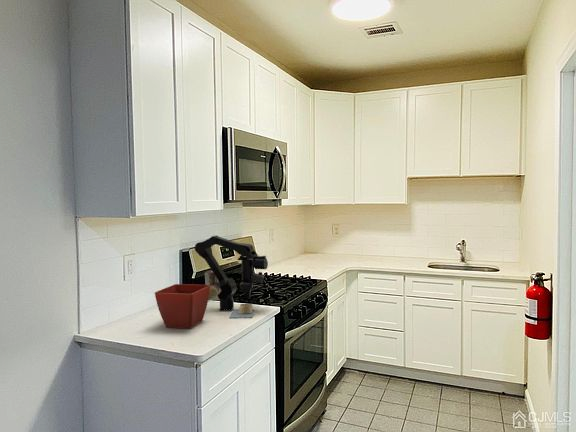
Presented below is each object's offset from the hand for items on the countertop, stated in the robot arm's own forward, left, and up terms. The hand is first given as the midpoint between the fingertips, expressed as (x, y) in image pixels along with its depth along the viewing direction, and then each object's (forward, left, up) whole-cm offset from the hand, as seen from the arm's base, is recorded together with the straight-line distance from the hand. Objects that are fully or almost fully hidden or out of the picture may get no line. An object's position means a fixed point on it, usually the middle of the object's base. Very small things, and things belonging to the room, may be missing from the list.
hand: (248, 298), depth 217 cm
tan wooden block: (-1, 0, -4) cm, 4 cm away
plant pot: (-28, -21, -6) cm, 35 cm away
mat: (-2, -7, -6) cm, 10 cm away
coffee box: (-22, +25, -6) cm, 34 cm away
